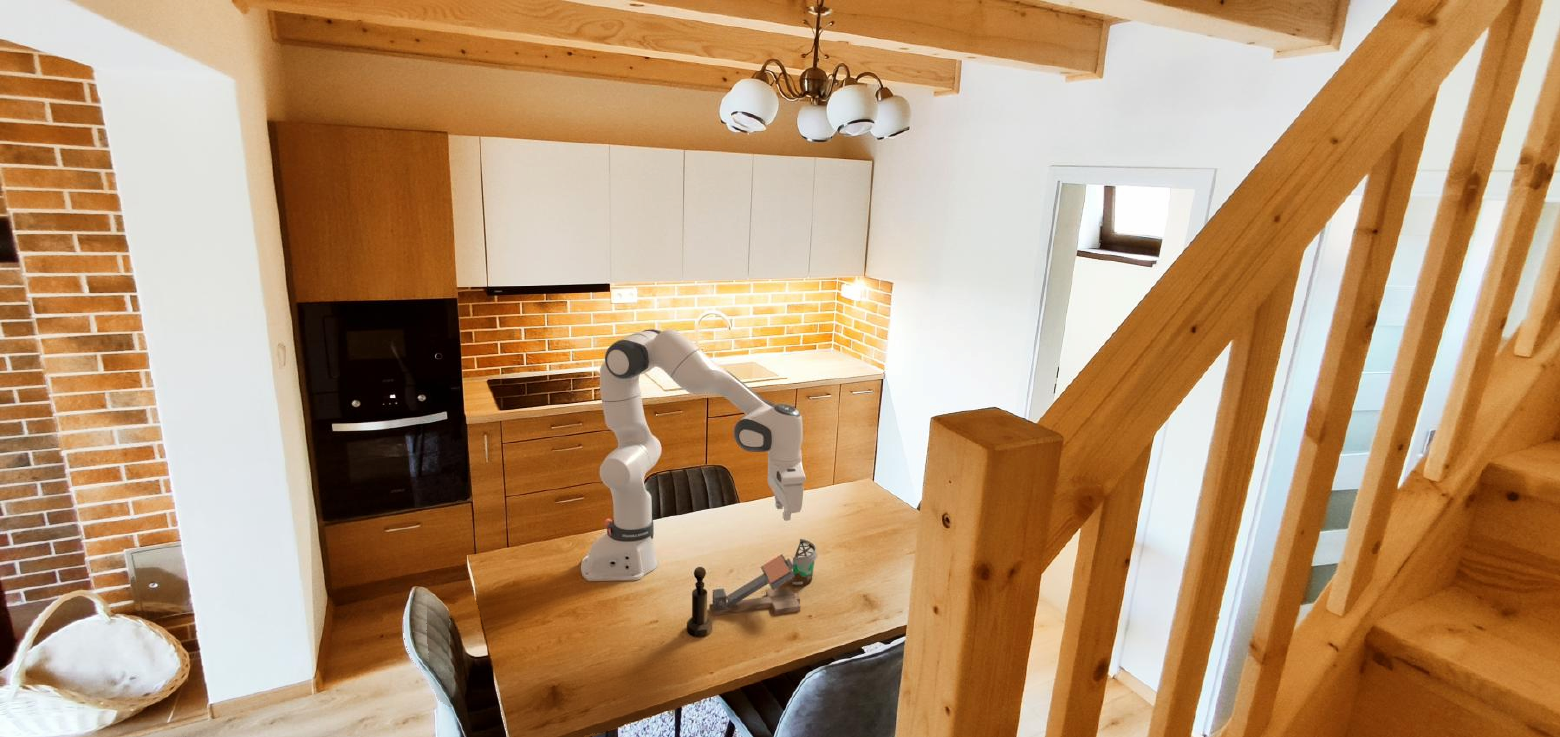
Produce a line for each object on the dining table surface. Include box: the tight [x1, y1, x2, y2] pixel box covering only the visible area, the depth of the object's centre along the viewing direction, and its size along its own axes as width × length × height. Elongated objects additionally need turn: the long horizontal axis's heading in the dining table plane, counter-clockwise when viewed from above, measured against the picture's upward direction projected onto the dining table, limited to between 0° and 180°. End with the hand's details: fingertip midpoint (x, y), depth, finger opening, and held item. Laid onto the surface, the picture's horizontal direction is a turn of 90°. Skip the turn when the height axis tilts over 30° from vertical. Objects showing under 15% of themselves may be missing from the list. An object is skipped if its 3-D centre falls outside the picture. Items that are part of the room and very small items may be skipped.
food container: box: [791, 538, 818, 588], centre depth 216 cm, size 12×6×10 cm, turn 168°
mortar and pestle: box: [686, 566, 713, 638], centre depth 189 cm, size 7×6×18 cm
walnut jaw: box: [708, 586, 801, 616], centre depth 202 cm, size 25×10×6 cm, turn 106°
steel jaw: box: [726, 553, 795, 606], centre depth 201 cm, size 20×10×2 cm, turn 105°
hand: (782, 513), depth 198 cm, fingers open, 5 cm apart
